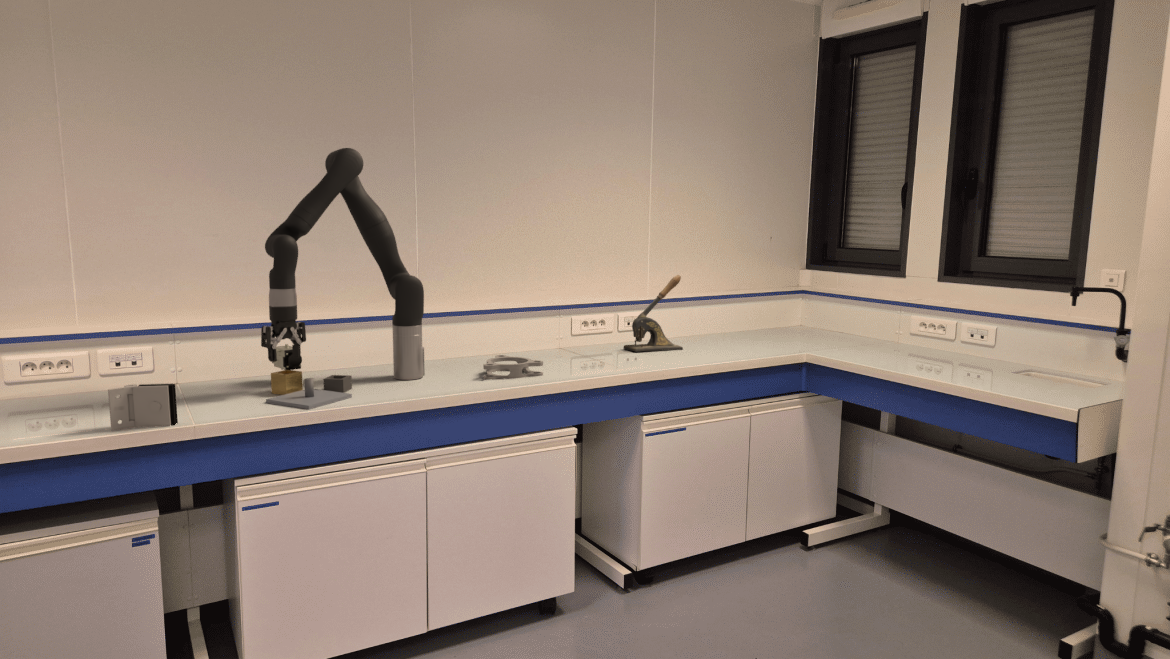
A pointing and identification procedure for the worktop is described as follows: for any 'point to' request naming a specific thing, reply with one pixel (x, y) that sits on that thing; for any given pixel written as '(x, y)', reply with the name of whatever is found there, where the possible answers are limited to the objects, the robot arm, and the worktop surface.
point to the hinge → (143, 406)
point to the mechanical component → (511, 367)
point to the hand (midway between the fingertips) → (284, 359)
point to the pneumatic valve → (287, 358)
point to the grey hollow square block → (338, 383)
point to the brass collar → (286, 382)
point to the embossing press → (652, 326)
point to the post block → (309, 397)
